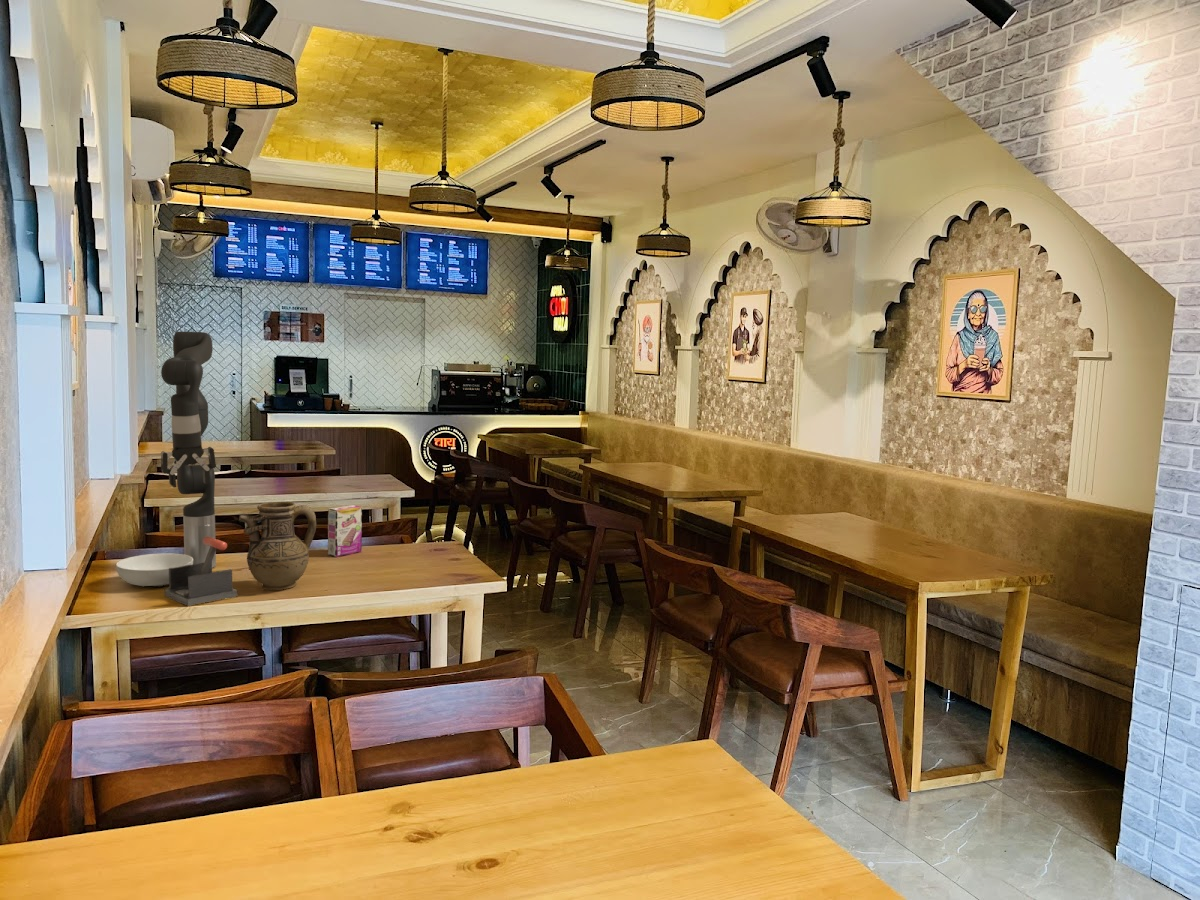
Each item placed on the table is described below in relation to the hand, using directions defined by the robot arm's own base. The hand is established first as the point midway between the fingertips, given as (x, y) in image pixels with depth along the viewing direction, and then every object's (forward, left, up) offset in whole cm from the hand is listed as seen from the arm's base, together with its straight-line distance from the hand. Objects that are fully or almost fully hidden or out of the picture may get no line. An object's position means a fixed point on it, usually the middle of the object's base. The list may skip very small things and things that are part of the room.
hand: (189, 484), depth 261 cm
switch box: (+8, -1, -31) cm, 32 cm away
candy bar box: (-10, +57, -31) cm, 66 cm away
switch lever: (+8, -1, -27) cm, 28 cm away
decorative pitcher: (+14, +20, -31) cm, 40 cm away
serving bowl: (-15, -4, -31) cm, 35 cm away
